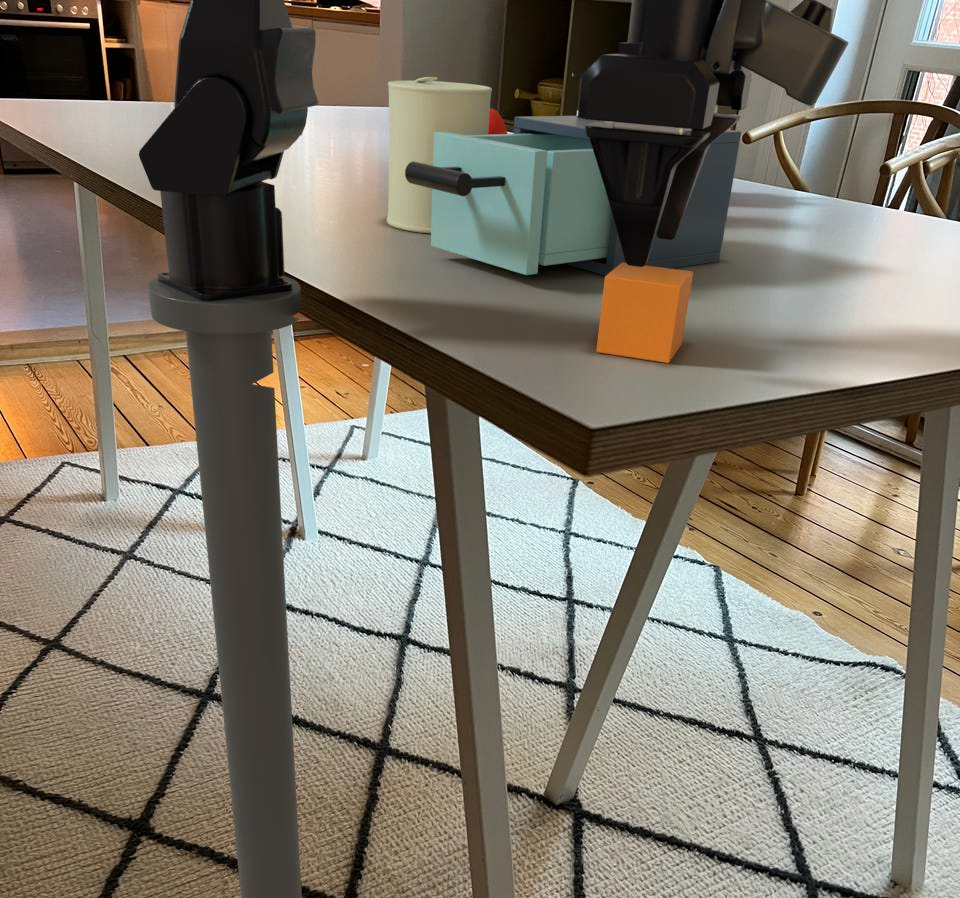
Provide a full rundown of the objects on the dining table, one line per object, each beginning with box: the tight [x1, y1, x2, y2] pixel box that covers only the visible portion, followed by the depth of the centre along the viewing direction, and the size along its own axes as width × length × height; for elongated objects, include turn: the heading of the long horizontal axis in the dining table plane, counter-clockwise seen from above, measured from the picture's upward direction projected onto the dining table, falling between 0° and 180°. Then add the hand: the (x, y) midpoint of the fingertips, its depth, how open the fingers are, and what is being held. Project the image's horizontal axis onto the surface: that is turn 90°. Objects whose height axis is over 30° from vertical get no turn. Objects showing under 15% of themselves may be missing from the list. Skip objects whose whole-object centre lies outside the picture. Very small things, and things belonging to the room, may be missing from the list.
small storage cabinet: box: [513, 115, 742, 276], centre depth 85 cm, size 14×13×10 cm
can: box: [386, 76, 493, 234], centre depth 91 cm, size 9×9×12 cm
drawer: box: [405, 132, 612, 276], centre depth 78 cm, size 17×11×8 cm, turn 131°
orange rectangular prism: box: [595, 263, 694, 364], centre depth 62 cm, size 4×4×4 cm
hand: (652, 251), depth 60 cm, fingers open, 9 cm apart
